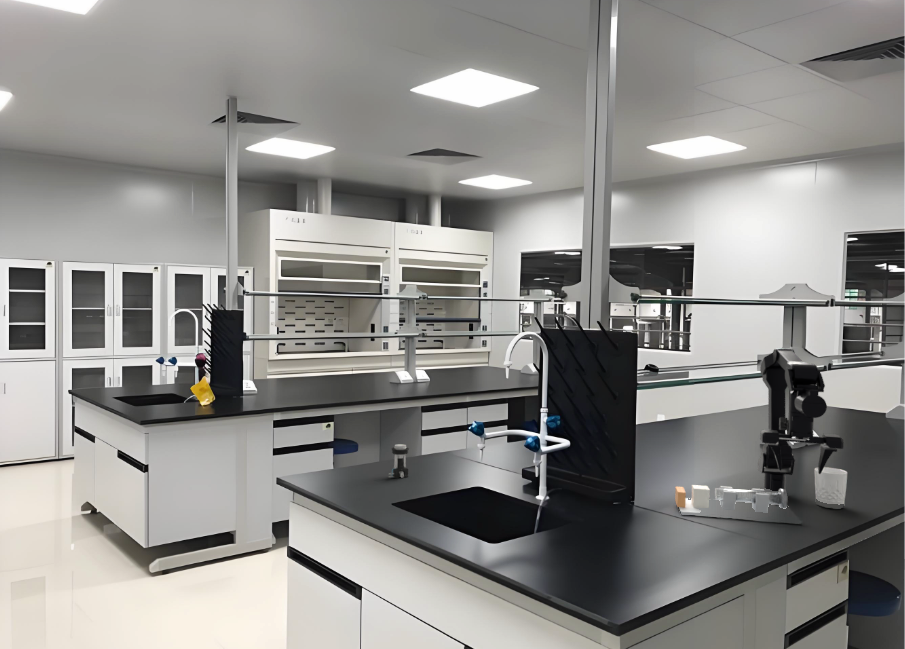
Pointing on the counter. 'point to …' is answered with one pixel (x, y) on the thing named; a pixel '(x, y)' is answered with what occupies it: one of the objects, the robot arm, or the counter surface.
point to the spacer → (700, 496)
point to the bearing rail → (722, 501)
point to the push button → (399, 461)
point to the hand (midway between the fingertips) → (799, 471)
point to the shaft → (750, 495)
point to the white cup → (830, 485)
